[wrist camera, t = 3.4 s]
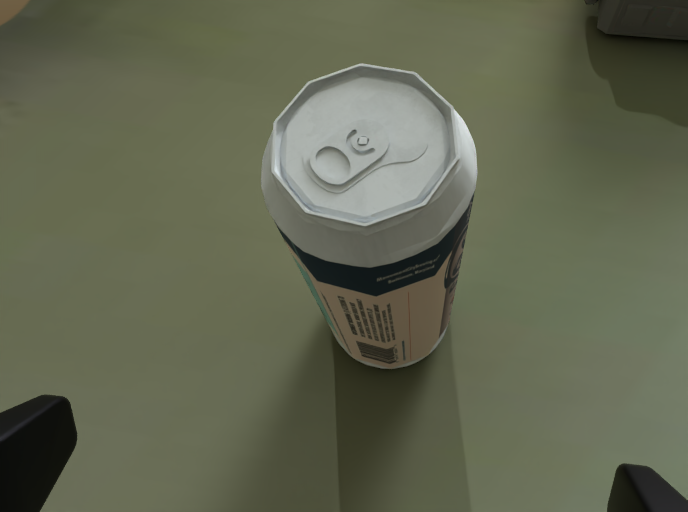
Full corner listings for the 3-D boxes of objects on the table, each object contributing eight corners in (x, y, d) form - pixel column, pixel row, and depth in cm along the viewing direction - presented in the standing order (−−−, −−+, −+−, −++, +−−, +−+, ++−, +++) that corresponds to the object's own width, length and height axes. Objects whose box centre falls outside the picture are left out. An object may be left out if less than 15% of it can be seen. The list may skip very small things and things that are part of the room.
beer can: (474, 321, 22) (534, 148, 11) (379, 397, 21) (338, 296, 10) (397, 235, 24) (381, 14, 13) (307, 303, 23) (207, 130, 12)
